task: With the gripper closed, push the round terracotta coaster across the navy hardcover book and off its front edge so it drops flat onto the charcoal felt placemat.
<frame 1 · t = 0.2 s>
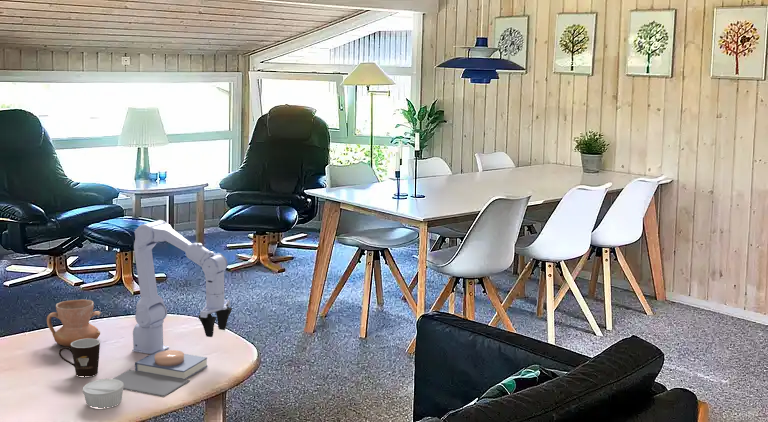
hand: (215, 332, 279), 10 cm above the table, tool pointing down, fingers open, 7 cm apart
ramekin: (104, 404, 247), on the table
coffee mug: (82, 373, 269), on the table
placemat: (146, 383, 262), on the table
ceramic jug: (75, 344, 296), on the table
book: (171, 369, 274), on the table
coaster: (169, 361, 273), point 3 cm above the table, touching book
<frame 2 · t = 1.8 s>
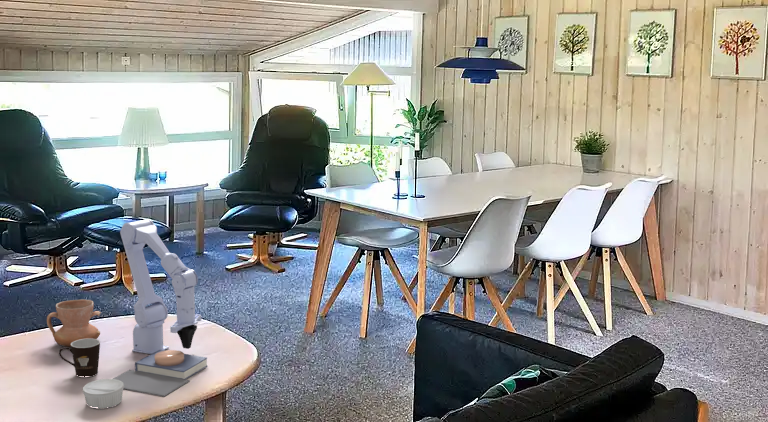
hand: (186, 347, 281), 4 cm above the table, tool pointing down, fingers closed
nothing on the table moved.
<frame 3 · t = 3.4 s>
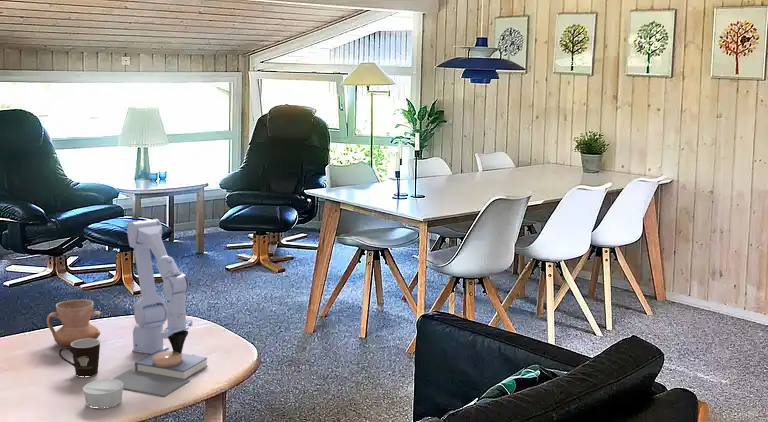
hand: (177, 353, 277), 4 cm above the table, tool pointing down, fingers closed
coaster: (167, 362, 272), point 3 cm above the table, touching gripper
everything else where it was.
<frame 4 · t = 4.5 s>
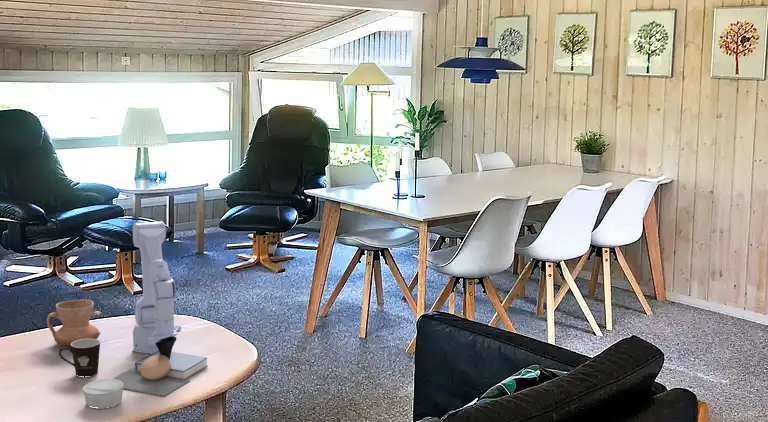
hand: (165, 360, 271), 4 cm above the table, tool pointing down, fingers closed
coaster: (156, 369, 266), point 2 cm above the table, tilted 27°, touching gripper
everything else where it was.
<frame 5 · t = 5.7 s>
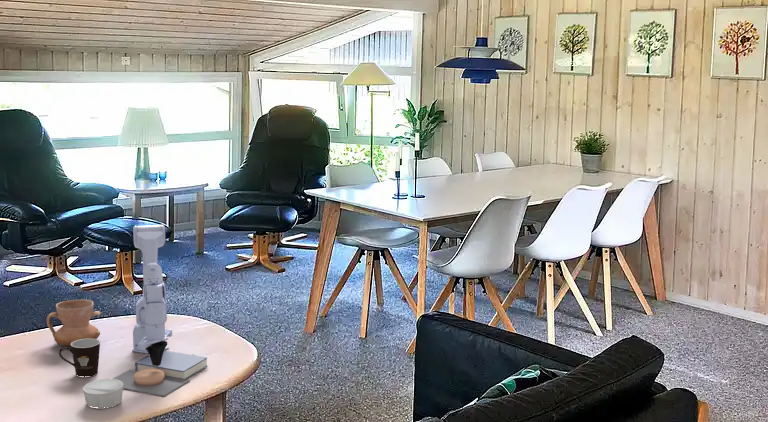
hand: (156, 365, 266), 4 cm above the table, tool pointing down, fingers closed
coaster: (149, 380, 263), resting on placemat
everything else where it was.
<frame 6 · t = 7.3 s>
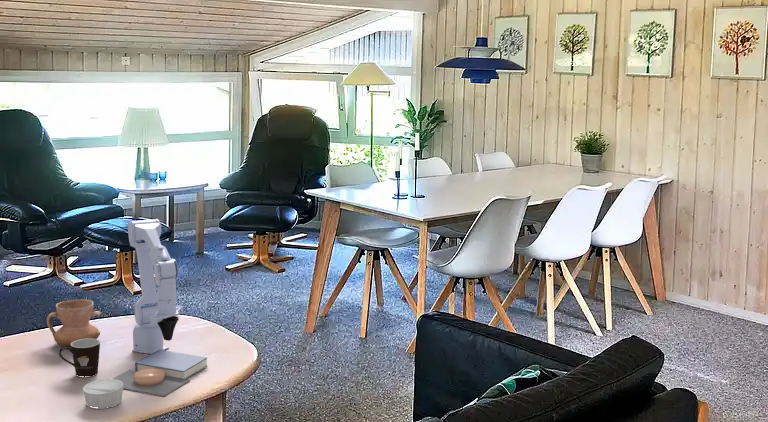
hand: (167, 339, 273), 9 cm above the table, tool pointing down, fingers closed
nothing on the table moved.
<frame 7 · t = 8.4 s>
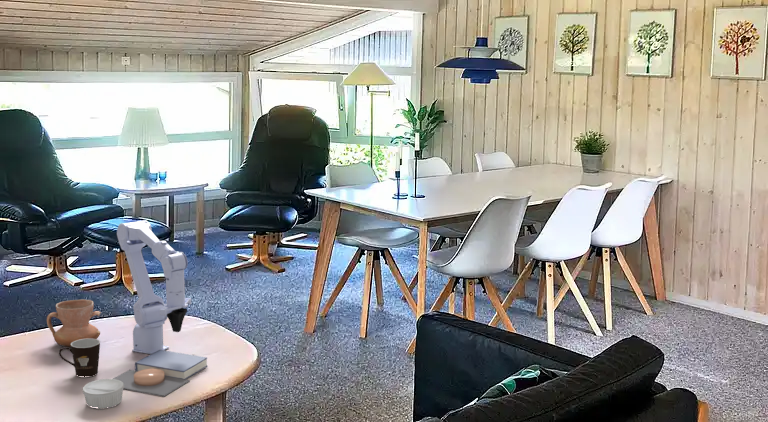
hand: (176, 331, 278), 10 cm above the table, tool pointing down, fingers closed
nothing on the table moved.
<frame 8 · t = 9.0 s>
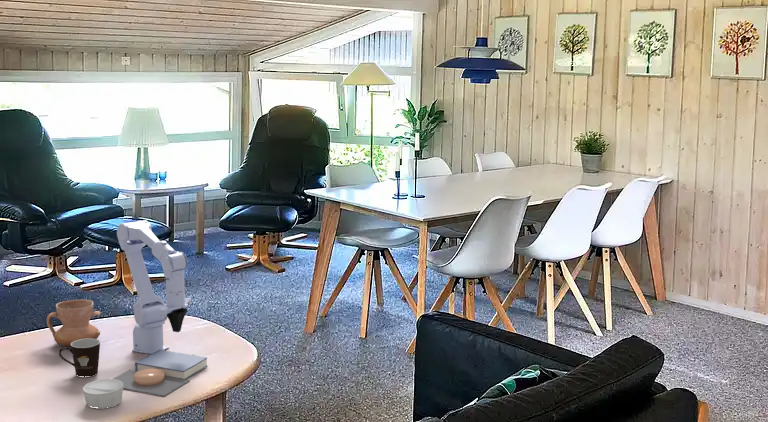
hand: (176, 331, 278), 10 cm above the table, tool pointing down, fingers closed
nothing on the table moved.
at the end: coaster inside the target area (2.0 cm from its centre), resting on placemat; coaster tilted 0° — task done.
